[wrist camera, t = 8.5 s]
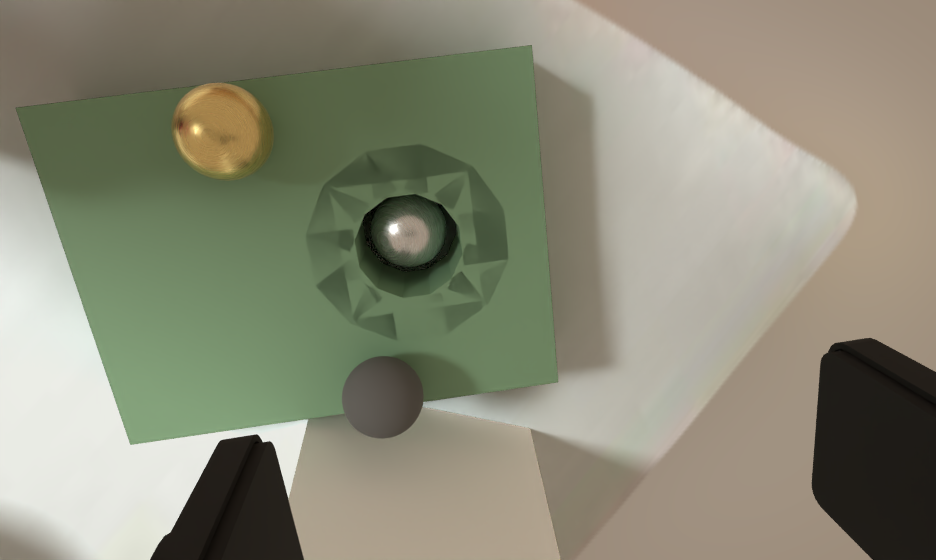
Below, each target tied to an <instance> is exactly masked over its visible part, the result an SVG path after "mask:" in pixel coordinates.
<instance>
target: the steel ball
mask: <svg viewBox="0 0 936 560" xmlns="http://www.w3.org/2000/svg"><path fill="white" fill-rule="evenodd" d="M371 236H372V240H373V243H374V245H375V247H376V249H377V251H378V252H379V253H380V254H381V255H382V256H383V257H384V258H385V259H386V260H388V261H389V262H391V263H393V264H395V265H398V266H402V267H415V266H420V265H423V264H425V263H427V262H429V261H430V260H432V259H433V258H434V257H435V256H436V255H437V254H438V253H439V251H440V250H441V248H442V246H443V244H444V241H445V238H446V221H445V218H444V215H443V213H442V211H441V209H440V208H439V206H438V205H437V204H436V203H435V202H434V201H432V200H429V199H427V198H424V197H422V196H419V195H417V194H411V195H403V196H396V197H388V198H387V199H385V200H384V201H383V202H382V203H381V204H380V205H379V206H378V208H377V209H376V211H375V213H374V215H373V218H372V222H371Z"/></svg>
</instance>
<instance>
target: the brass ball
mask: <svg viewBox="0 0 936 560" xmlns="http://www.w3.org/2000/svg"><path fill="white" fill-rule="evenodd" d="M171 132H172V138H173V142H174V145H175V147H176V149H177V151H178V153H179V154H180V156H181V157H182V159H183V160H184V161H185V162H186V163H187V164H188V165H189V166H190V167H191V168H193V169H194V170H195V171H197V172H198V173H200V174H202V175H204V176H206V177H209V178H212V179H217V180H225V181H230V180H237V179H242V178H245V177H247V176H249V175H251V174H253V173H255V172H256V171H257V170H259V169H260V168H261V167H262V166H263V165H264V163H265V162H266V161H267V159H268V157H269V156H270V153H271V151H272V147H273V142H274V130H273V125H272V121H271V118H270V116H269V114H268V112H267V110H266V109H265V107H264V106H263V104H262V103H261V102H260V101H259V100H258V99H257V98H256V97H255V96H254V95H252V94H251V93H250V92H248V91H246V90H245V89H243V88H241V87H238V86H235V85H232V84H227V83H209V84H204V85H201V86H198V87H196V88H194V89H192V90H191V91H190V92H188V93H187V94H186V95H185V96H184V97H183V98H182V99H181V100H180V101H179V103H178V104H177V106H176V108H175V110H174V113H173V117H172V123H171Z"/></svg>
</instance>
